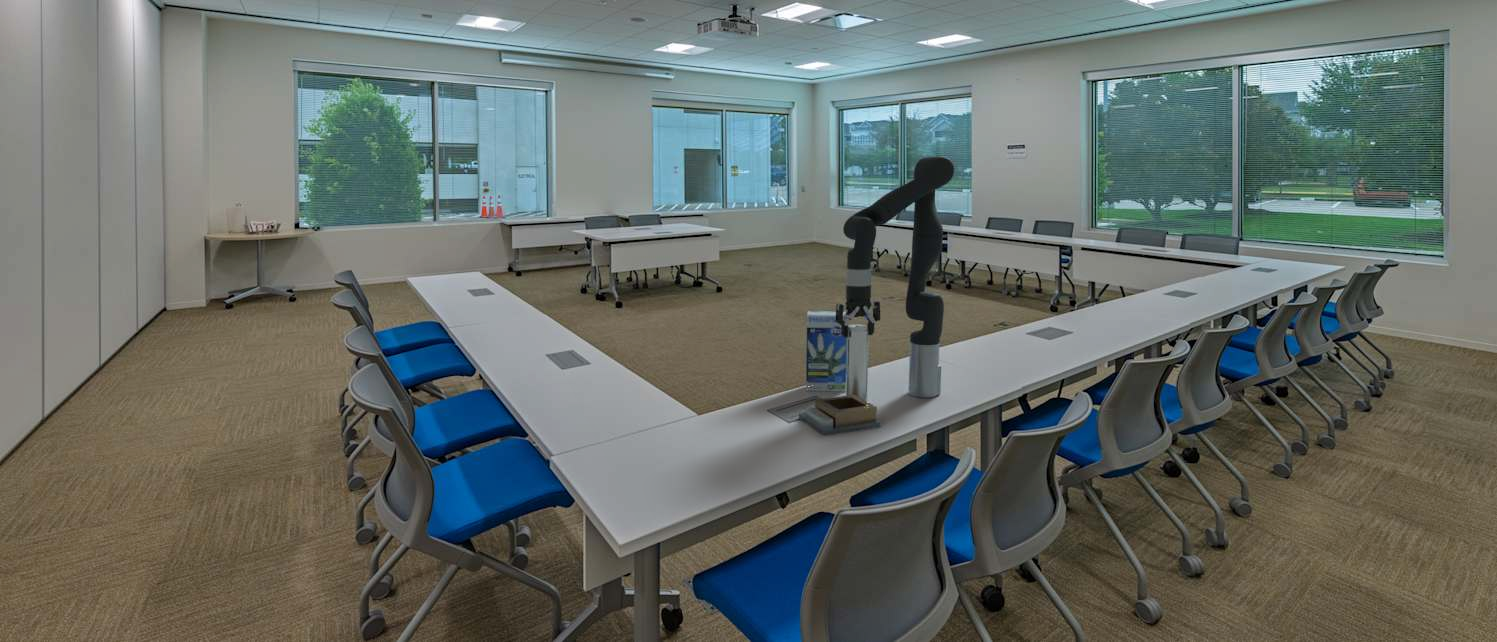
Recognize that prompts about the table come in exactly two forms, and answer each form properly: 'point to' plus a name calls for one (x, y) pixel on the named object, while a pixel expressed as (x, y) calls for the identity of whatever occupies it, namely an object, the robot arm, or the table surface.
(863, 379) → the white tall cylinder
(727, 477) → the table surface
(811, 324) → the string lights box
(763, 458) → the table surface
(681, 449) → the table surface
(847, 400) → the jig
